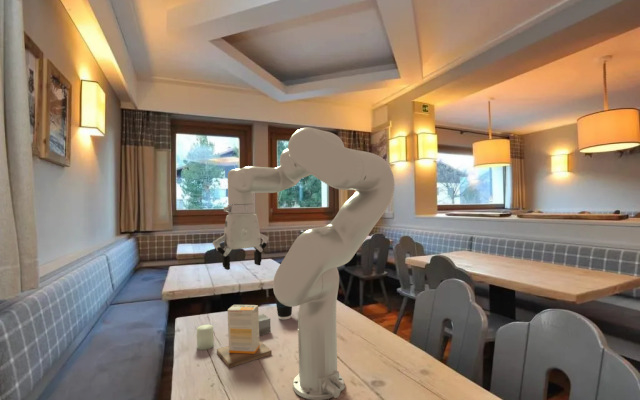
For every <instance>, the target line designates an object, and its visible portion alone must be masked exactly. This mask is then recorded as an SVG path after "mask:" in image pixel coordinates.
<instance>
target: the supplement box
mask: <svg viewBox="0 0 640 400" xmlns="http://www.w3.org/2000/svg"><path fill="white" fill-rule="evenodd" d="M259 315H260V314H259V305H258V304H257V305H256V304H233V305H231V306H230V307H229V308H228V309H227V331H228V332H227V333H228V346H229V353H247V354H255V353H256V351H257V350H258V349H259V347H260V343H259V340H260V336H259Z"/></svg>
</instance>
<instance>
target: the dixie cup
mask: <svg viewBox="0 0 640 400" xmlns="http://www.w3.org/2000/svg"><path fill="white" fill-rule="evenodd" d="M274 296H275V295H274ZM275 303H276V304H275V305H276V313H277V316H278V319H279V320H289V319H291V317H292V312H293V307H290V306H285V305H283V304H282V303H280V302H279V301H278V300H277V298H276V296H275Z"/></svg>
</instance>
